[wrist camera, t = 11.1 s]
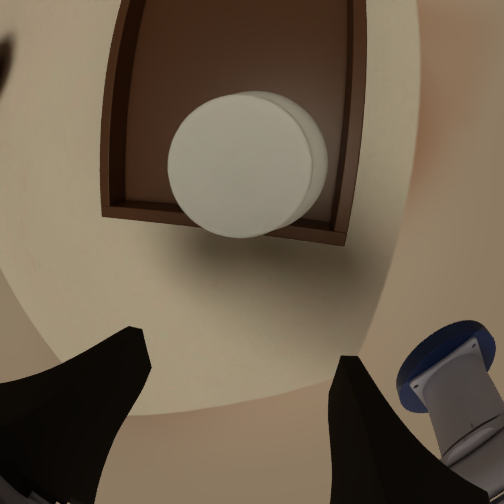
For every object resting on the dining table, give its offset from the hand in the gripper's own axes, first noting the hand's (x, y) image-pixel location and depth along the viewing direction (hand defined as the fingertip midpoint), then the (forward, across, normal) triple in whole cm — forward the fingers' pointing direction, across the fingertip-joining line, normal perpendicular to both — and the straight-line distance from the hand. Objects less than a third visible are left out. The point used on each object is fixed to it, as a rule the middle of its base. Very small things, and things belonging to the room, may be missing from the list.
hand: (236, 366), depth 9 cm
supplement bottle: (+10, 0, -7) cm, 12 cm away
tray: (+10, +2, -17) cm, 20 cm away
